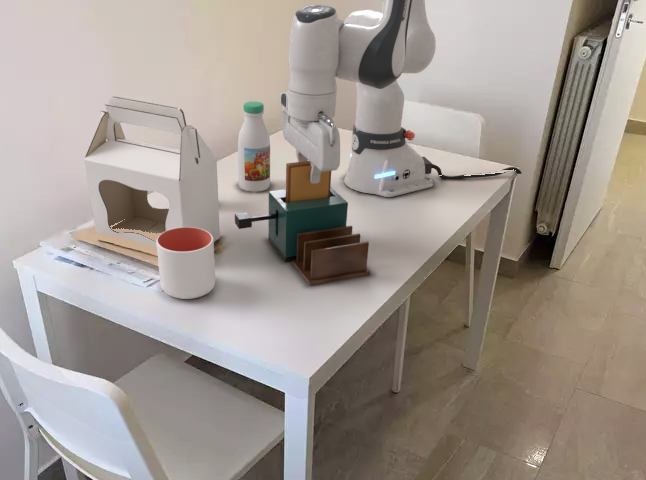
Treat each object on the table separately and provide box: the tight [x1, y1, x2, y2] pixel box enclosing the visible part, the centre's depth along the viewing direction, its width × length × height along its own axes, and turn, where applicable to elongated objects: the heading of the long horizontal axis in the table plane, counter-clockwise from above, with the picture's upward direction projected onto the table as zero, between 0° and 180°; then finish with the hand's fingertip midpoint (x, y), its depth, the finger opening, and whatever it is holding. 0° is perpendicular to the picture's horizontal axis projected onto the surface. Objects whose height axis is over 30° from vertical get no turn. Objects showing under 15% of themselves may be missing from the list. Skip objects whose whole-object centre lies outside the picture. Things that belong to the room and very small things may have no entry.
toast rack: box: [291, 225, 371, 286], centre depth 128 cm, size 13×9×7 cm
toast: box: [285, 160, 332, 203], centre depth 130 cm, size 9×1×10 cm, turn 112°
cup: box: [156, 227, 216, 300], centre depth 120 cm, size 10×10×10 cm
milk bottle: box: [237, 101, 271, 192], centre depth 157 cm, size 8×8×20 cm
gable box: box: [83, 96, 221, 247], centre depth 130 cm, size 22×13×28 cm, turn 65°
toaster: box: [267, 186, 349, 263], centre depth 135 cm, size 13×11×11 cm
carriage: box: [234, 211, 278, 230], centre depth 132 cm, size 20×3×2 cm, turn 112°
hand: (308, 177), depth 129 cm, fingers open, 4 cm apart
